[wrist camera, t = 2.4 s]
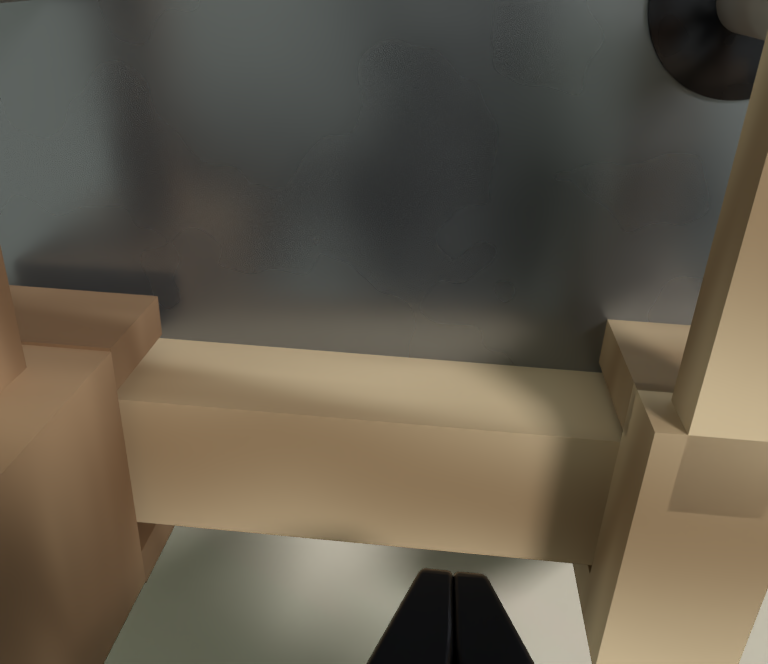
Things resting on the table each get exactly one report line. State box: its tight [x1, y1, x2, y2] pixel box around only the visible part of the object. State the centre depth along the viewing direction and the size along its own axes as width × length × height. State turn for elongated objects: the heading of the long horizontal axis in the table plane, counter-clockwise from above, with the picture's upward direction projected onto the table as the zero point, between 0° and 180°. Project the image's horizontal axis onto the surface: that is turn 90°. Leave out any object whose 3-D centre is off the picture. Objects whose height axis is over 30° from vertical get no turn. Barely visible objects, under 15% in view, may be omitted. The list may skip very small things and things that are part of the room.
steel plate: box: [0, 0, 765, 373], centre depth 11 cm, size 16×22×1 cm
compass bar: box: [117, 0, 768, 664], centre depth 10 cm, size 10×22×3 cm, turn 88°
